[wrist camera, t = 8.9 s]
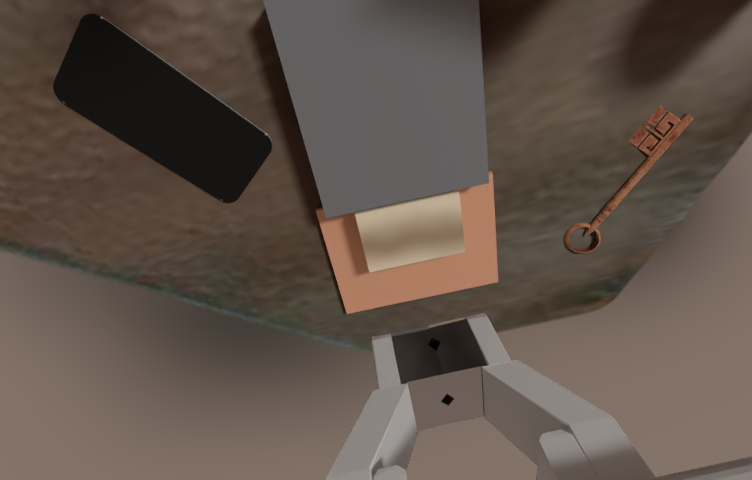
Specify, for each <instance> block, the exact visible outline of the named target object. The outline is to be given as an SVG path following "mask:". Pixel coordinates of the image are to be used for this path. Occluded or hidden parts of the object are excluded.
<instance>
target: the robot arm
mask: <svg viewBox="0 0 752 480" xmlns="http://www.w3.org/2000/svg"><path fill="white" fill-rule="evenodd" d="M391 336H392V338H391ZM392 341H393V342H392ZM371 343H372V350H373V357H374V364H375V371H376V378H377V386H378V390H374V391H372V392H371V394H370V396H369V398H368V400H367V402H366V404H365V406H364V408H363V410H362V411H361V413H360V415H359V417H358V419H357V421H356V423H355V425H354V427H353V429H352V431H351V432H350V435H349V436H348V438H347V440H346V442H345V444H344V446H343V448H342V450H341V452H340V454H339V455H338V457H337V459H336V461H335V463H334V465H333V467H332V469H331V471H330V472H329V474H328V476H327V478H326V480H408V478H407V475H406V470H407V467H408V464H409V461H410V457H411V454H412V451H413V448H414V445H415V441H416V438H417V435H418V431H420V430H424V429H428V428H432V427H436V426H440V425H444V424H448V423H452V422H458V421H463V420H469V419H474V418H479V417H485V419H486V420H487V421H488V422H489V423H491V424H492V425H493V426H494V427H495V428H496V429H497V430H498V431H500V432H501V433H502V434H503V435H504V436H505V437H506V438H507V439H508V440H509V441H511V442H512V443H513V444H514V445H515V446H516V447H517V448H518V449H519V450H520V451H522V452H523V453H524V454H525V455H526V456H527V457H528V458H529V459H530V460H532V461H533V462H534V463H535V464H536V465H537V476H536V480H752V457H747V458H743V459H738V460H733V461H729V462H724V463H720V464H715V465H711V466H706V467H701V468H697V469H692V470H688V471H683V472H678V473H674V474H669V475H665V476H660V477H655V476H654V474H653V473H652V472H651V470H650V469H649V467H648V466H647V465H646V463H645V462H644V460H643V459H642V458H641V456H640V455H639V453H638V452H637V450H636V449H635V448H634V446H633V445H632V443H631V442H630V441H629V439H628V438H627V436H626V435H625V433H624V432H623V431H622V429H621V428H620V426H619V425H618V424H617V422H616V421H615V419H614V418H613V417H612V416H610V415H609V414H607V413H605V412H604V411H602V410H600V409H598V408H597V407H595V406H593V405H592V404H590V403H589V402H587V401H585V400H584V399H582V398H580V397H579V396H577V395H575V394H574V393H572V392H570V391H569V390H567V389H565V388H563V387H562V386H560V385H559V384H557V383H555V382H554V381H552V380H550V379H548V378H547V377H545V376H544V375H542V374H540V373H538V372H537V371H535V370H534V369H532V368H530V367H529V366H527V365H525V364H524V363H522V362H520V361H518V360H512V361H511V360H510V358H509V356H508V354H507V353H506V351H505V349H504V347H503V345H502V343H501V341H500V340H499V338H498V336H497V334H496V332H495V330H494V328H493V326H492V324H491V323H490V321H489V319H488V317H487V315H486V314H484V313H481V314H477V315H473V316H468V317H465V318H459V319H455V320H451V321H446V322H442V323H437V324H433V325H429V326H425V327H420V328H415V329H409V330H404V331H399V332H394V333H391V334H385V335H380V336H375V337H372V341H371Z"/></svg>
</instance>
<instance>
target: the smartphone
mask: <svg viewBox="0 0 752 480" xmlns="http://www.w3.org/2000/svg"><path fill="white" fill-rule="evenodd" d="M53 88H54V92H55V94H56V96H57V97H58V99H59V100H60V101H62V102H63V103H64V104H66V105H67V106H69V107H71V108H72V109H74V110H76V111H77V112H79V113H80V114H82V115H84V116H85V117H87V118H89V119H90V120H92V121H93V122H95V123H97V124H98V125H100V126H102V127H103V128H105V129H106V130H108V131H110V132H111V133H113V134H115V135H116V136H118V137H119V138H121V139H123V140H124V141H126V142H128V143H129V144H131V145H132V146H134V147H136V148H137V149H139V150H141V151H142V152H144V153H145V154H147V155H149V156H150V157H152V158H154V159H155V160H157V161H158V162H160V163H162V164H163V165H165V166H167V167H168V168H170V169H171V170H173V171H175V172H176V173H178V174H180V175H181V176H183V177H184V178H186V179H188V180H189V181H191V182H193V183H194V184H196V185H197V186H199V187H201V188H202V189H204V190H206V191H207V192H209V193H210V194H212V195H214V196H215V197H217V198H219V199H220V200H222V201H224V202H234V201H236V200H237V199H238V198H239V197H240V195H241V194H242V192H243V191H244V190H245V188H246V187H247V185H248V184H249V182H250V181H251V179H252V178H253V177H254V175H255V174H256V172H257V171H258V169H259V168H260V166H261V165H262V164H263V162H264V161H265V159H266V158H267V156H268V155H269V153H270V152H271V150H272V147H273V143H272V140H271V138H270V136H269V135H268V134H267V133H265V132H264V131H263V130H261V129H260V128H258V127H257V126H256V125H254V124H253V123H251V121H250V120H248V119H246V118H244V117H243V116H242V115H240V114H239V113H238V112H237V111H236V110H234V109H233V108H231V107H230V106H229V105H228V106H227V105H226V104H225V103H223V102H222V100H220V99H219V98H217V97H216V96H215V95H213V94H212V93H209V92H208V91H206V90H205V89H204V88H202V87H201V86H199V85H198V84H197V83H195V82H194V81H192V80H191V79H190V78H188V77H187V76H185V75H184V74H183V73H181V72H180V71H178V70H177V69H176V68H174V67H173V66H171V65H170V64H169V63H167V62H166V61H164V60H163V59H162V58H160V57H159V56H157V55H156V54H155V53H153V52H152V51H150V50H149V49H148V48H146V47H145V46H143V45H142V44H141V43H139V42H138V41H136V40H135V39H134V38H132V37H131V36H129V35H128V34H126V33H125V32H124V31H122V30H121V29H119V28H118V27H117V26H115V25H114V24H112V23H111V22H110V21H108V20H107V19H105V18H104V17H102V16H100V15H97V14H88V15H85V16H84V17H83V18H82V19H81V21H80V23H79V25H78V28H77V30H76V32H75V35H74V37H73V39H72V42H71V44H70V46H69V49H68V51H67V53H66V56H65V58H64V60H63V62H62V65H61V67H60V69H59V72H58V74H57V76H56V79H55V81H54V85H53Z"/></svg>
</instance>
